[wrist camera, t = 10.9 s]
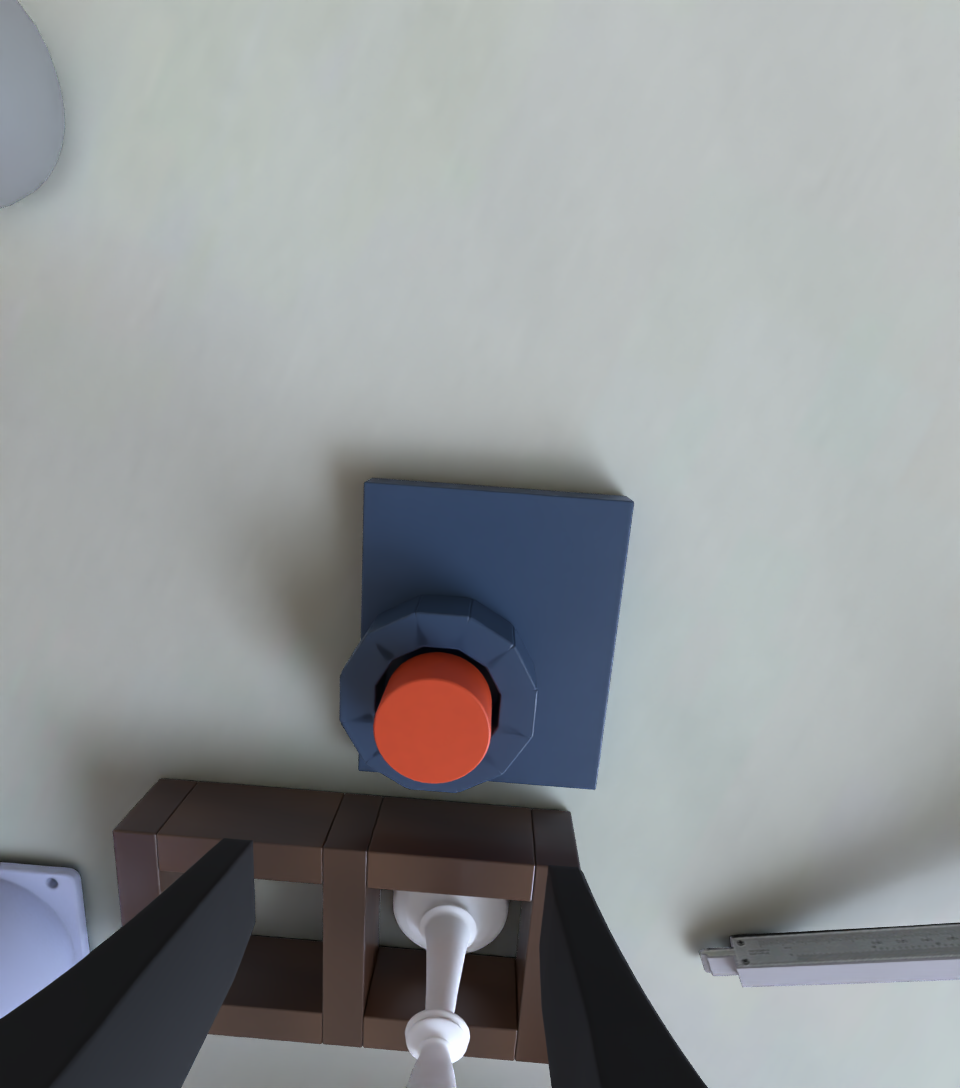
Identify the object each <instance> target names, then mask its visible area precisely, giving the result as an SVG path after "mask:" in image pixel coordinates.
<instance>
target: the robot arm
mask: <svg viewBox="0 0 960 1088" xmlns="http://www.w3.org/2000/svg"><path fill="white" fill-rule="evenodd" d="M255 922H256V921H255V889H254V857H253V840H241V839H229V838H223V839H222V840H221V841H220V842H218V843H217V844H216V845H215V846H214V847H213V848H211V849H210V850H209V851H208V852H207V853H206V854H205V855H204V856H202V857H201V858H200V859H199V860H198V861H197V862H196V863H195V864H194V865H192V866H191V867H190V868H189V869H188V870H187V871H186V872H185V873H184V874H182V875H181V876H180V877H179V878H178V879H177V880H176V881H175V882H174V883H172V884H171V885H170V886H169V887H168V888H167V889H166V890H165V891H163V892H162V893H161V894H160V895H159V896H158V897H156V898H155V899H154V900H153V901H152V902H151V903H150V904H148V905H147V906H146V907H145V908H144V909H143V910H141V911H140V912H139V913H138V914H137V915H136V916H134V917H133V918H132V919H131V920H130V921H129V922H127V923H126V924H125V925H124V926H123V927H121V928H120V929H119V930H118V931H117V932H115V933H114V934H113V935H112V936H110V937H109V938H108V939H107V940H105V941H104V942H103V943H102V944H100V945H99V946H98V947H97V948H95V949H94V950H93V951H92V952H90V950H89V942H88V933H87V925H86V917H85V908H84V900H83V891H82V883H81V877H80V874H79V873H78V872H77V871H76V870H74V869H72V868H65V867H53V866H41V865H29V864H17V863H5V862H0V1088H181V1087H182V1085H183V1083H184V1081H185V1079H186V1077H187V1075H188V1073H189V1071H190V1069H191V1067H192V1065H193V1063H194V1061H195V1058H196V1056H197V1054H198V1052H199V1050H200V1048H201V1046H202V1044H203V1042H204V1040H205V1038H206V1036H207V1034H208V1032H209V1030H210V1028H211V1026H212V1024H213V1022H214V1020H215V1018H216V1016H217V1014H218V1012H219V1010H220V1008H221V1006H222V1004H223V1001H224V999H225V997H226V995H227V993H228V991H229V989H230V987H231V985H232V983H233V981H234V978H235V976H236V973H237V971H238V968H239V965H240V963H241V960H242V958H243V955H244V952H245V950H246V947H247V944H248V941H249V939H250V936H251V933H252V930H253V927H254V925H255ZM539 957H540V984H541V1007H542V1015H543V1023H544V1031H545V1039H546V1047H547V1055H548V1063H549V1070H550V1078H551V1086H552V1088H708V1087H707V1086H706V1085H705V1083H704V1082H703V1081H702V1079H701V1078H700V1076H699V1075H698V1074H697V1072H696V1071H695V1069H694V1068H693V1067H692V1065H691V1064H690V1062H689V1061H688V1059H687V1058H686V1057H685V1055H684V1054H683V1052H682V1051H681V1049H680V1048H679V1046H678V1045H677V1043H676V1042H675V1040H674V1039H673V1037H672V1036H671V1034H670V1033H669V1031H668V1030H667V1028H666V1027H665V1025H664V1024H663V1022H662V1020H661V1019H660V1017H659V1016H658V1014H657V1012H656V1011H655V1009H654V1008H653V1006H652V1004H651V1003H650V1001H649V1000H648V998H647V996H646V995H645V993H644V991H643V990H642V988H641V986H640V984H639V983H638V981H637V979H636V978H635V976H634V974H633V972H632V971H631V969H630V967H629V965H628V963H627V962H626V960H625V958H624V956H623V954H622V952H621V951H620V949H619V947H618V945H617V943H616V941H615V940H614V938H613V936H612V934H611V932H610V930H609V928H608V926H607V924H606V922H605V920H604V918H603V916H602V914H601V912H600V910H599V908H598V906H597V903H596V901H595V899H594V897H593V895H592V893H591V890H590V888H589V886H588V883H587V881H586V879H585V876H584V874H583V872H582V871H581V870H580V869H579V867H568V866H556V865H548V873H547V882H546V891H545V899H544V908H543V917H542V925H541V934H540V943H539Z"/></svg>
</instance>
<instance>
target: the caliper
mask: <svg viewBox="0 0 960 1088" xmlns="http://www.w3.org/2000/svg"><path fill="white" fill-rule="evenodd" d="M730 942H731V947H729V948H707V949H701V950H700V951H699V954H700V957H701V960H702V963H703V966H704V969H705V971H706V972H708V973H712V975H713V976H728V975H739V979H740V982H741V984H742V987H762V986H793V985H824V984H855V983H883V982H909V981H936V980H960V923H946V924H930V925H914V926H897V927H878V928H860V929H842V930H824V931H805V932H787V933H769V934H750V935H735V936H731V937H730Z"/></svg>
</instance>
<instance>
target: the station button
mask: <svg viewBox="0 0 960 1088" xmlns="http://www.w3.org/2000/svg"><path fill="white" fill-rule="evenodd" d="M491 714H492V698H491V692H490V688H489V686H488V683H487V681H486V679H485V678H484V676H483V675H482V674H481V672H480V671H479V670H478V669H477V668H476V667H475V666H474V665H473V664H471V663H470V662H468V661H467V660H465V659H463V658H461V657H459V656H456V655H453V654H450V653H444V652H429V653H424V654H420V655H417V656H414V657H412V658H410V659H408V660H407V661H405V662H404V663H402V664H401V665H400V666H399V667H398V668H397V669H396V670H395V671H394V673H393V674H392V676H391V677H390V679H389V681H388V684H387V686H386V689H385V691H384V694H383V696H382V699H381V701H380V704H379V706H378V709H377V711H376V714H375V718H374V724H373V732H374V738H375V742H376V745H377V748H378V750H379V752H380V754H381V755H382V757H383V758H384V760H385V761H386V762H387V763H388V764H389V765H390V766H391V767H392V768H393V769H394V770H395V771H397V772H398V773H400V774H401V775H403V776H405V777H407V778H409V779H412V780H415V781H419V782H423V783H445V782H450V781H453V780H456V779H459V778H461V777H463V776H465V775H466V774H468V773H469V772H471V771H472V770H473V769H474V768H476V767H477V765H478V764H479V763H480V762H481V761H482V759H483V758H484V756H485V754H486V752H487V750H488V747H489V744H490V739H491Z"/></svg>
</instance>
